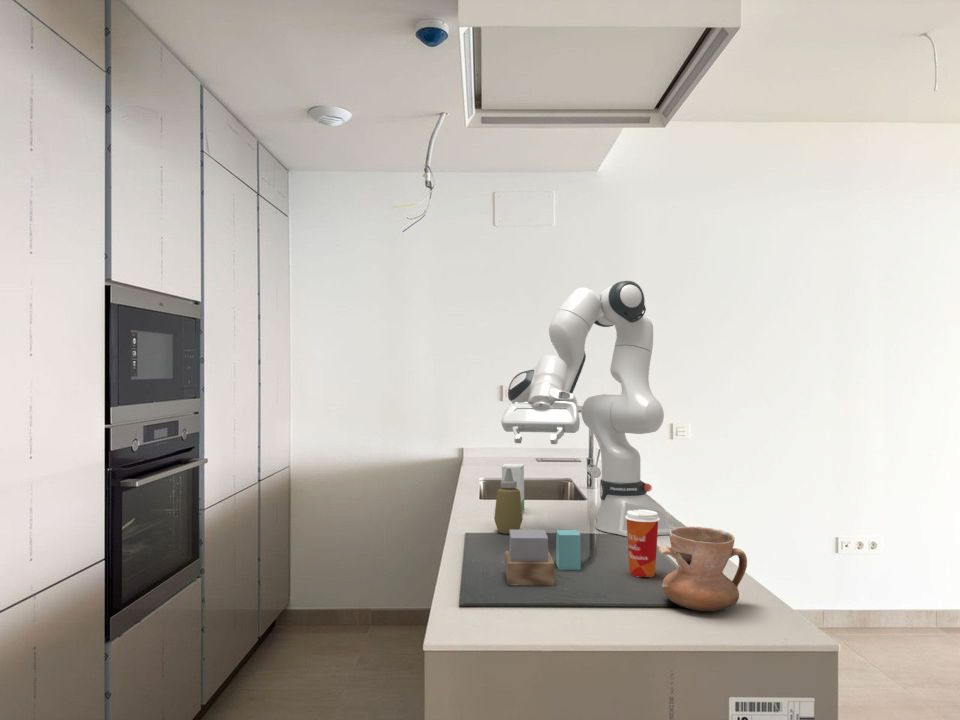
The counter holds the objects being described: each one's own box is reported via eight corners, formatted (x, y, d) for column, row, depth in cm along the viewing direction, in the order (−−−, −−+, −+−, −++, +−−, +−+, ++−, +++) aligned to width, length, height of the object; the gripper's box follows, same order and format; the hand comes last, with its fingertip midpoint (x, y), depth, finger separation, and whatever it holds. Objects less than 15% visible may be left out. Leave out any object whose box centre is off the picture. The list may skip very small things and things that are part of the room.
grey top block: (544, 551, 157) (544, 529, 157) (548, 561, 149) (548, 538, 149) (509, 551, 157) (509, 529, 157) (511, 561, 149) (511, 538, 149)
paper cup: (618, 571, 158) (618, 510, 158) (645, 567, 161) (645, 507, 161) (638, 581, 151) (639, 517, 151) (667, 577, 154) (667, 514, 154)
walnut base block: (548, 573, 158) (548, 551, 158) (554, 586, 148) (554, 563, 148) (505, 573, 157) (505, 551, 157) (507, 586, 147) (507, 563, 147)
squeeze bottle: (507, 536, 190) (508, 471, 190) (488, 531, 196) (488, 468, 196) (528, 532, 195) (528, 469, 195) (508, 527, 201) (509, 465, 201)
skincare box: (521, 516, 217) (521, 466, 217) (500, 515, 218) (500, 466, 218) (524, 510, 225) (525, 463, 225) (504, 509, 226) (505, 462, 226)
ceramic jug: (669, 618, 128) (671, 542, 129) (646, 592, 143) (648, 523, 143) (763, 619, 129) (765, 543, 129) (731, 593, 144) (733, 525, 144)
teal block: (576, 563, 164) (577, 530, 164) (580, 569, 159) (580, 535, 159) (556, 563, 164) (556, 530, 164) (558, 569, 159) (559, 535, 159)
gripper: (504, 394, 184) (493, 433, 175) (580, 394, 177) (572, 434, 168) (510, 410, 188) (499, 449, 179) (584, 410, 181) (576, 451, 172)
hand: (535, 442), depth 173 cm, fingers open, 8 cm apart
